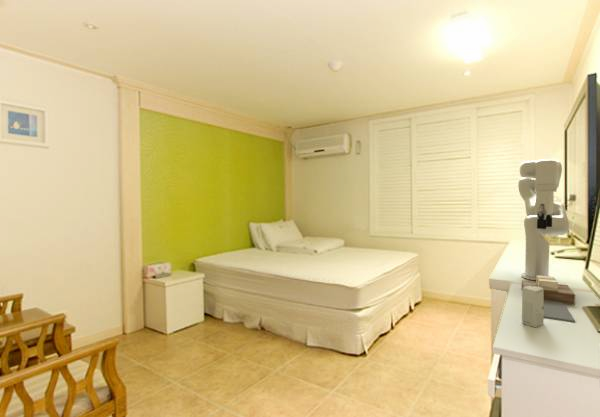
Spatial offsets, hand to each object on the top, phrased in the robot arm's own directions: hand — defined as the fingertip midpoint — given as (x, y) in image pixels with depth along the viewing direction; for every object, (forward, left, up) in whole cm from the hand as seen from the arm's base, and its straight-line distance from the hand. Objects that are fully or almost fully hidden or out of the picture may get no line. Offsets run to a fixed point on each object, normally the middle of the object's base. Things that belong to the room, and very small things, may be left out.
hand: (544, 227), depth 141 cm
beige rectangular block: (+10, 0, -24) cm, 26 cm away
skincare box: (+44, -8, -28) cm, 53 cm away
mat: (+27, -1, -28) cm, 39 cm away
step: (+9, 0, -28) cm, 29 cm away
